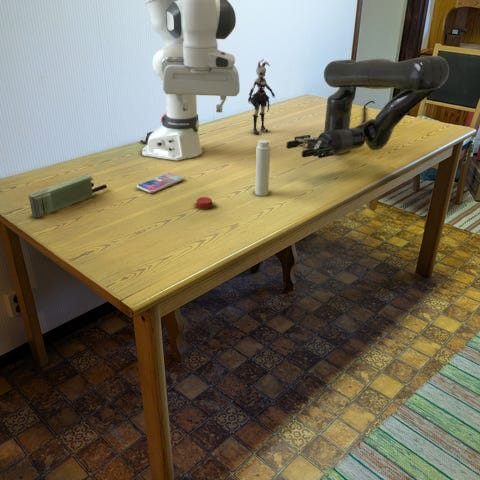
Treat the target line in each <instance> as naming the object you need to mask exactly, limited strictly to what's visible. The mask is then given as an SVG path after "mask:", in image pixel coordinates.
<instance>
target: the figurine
mask: <svg viewBox="0 0 480 480" xmlns="http://www.w3.org/2000/svg"><path fill="white" fill-rule="evenodd" d="M266 65H267V66H268V67H270V66H271V65H270V63H269V62H268V61H264V58H262V59H261V60H259V61H257V66H256V69H255V71H256V75H257V76H258V77H256V79H254V81H253V85H252V87H251V88H250V90H249V93H248V99H247V102H248V103H249V104H251V105H252V106H253V107H254V113H253V114H252V117H253V129H252V131H253V134H254V135H259V134H260V132H259V131H258V129H257V122H258V121H257V120H258V119H259V116H260V120H261V121H260V122H261V126H260V131H261V132H262V131H263V132H264V133H268V131H269V130H268V129H267V128H266V127H265V115H266V113H265V111H266V107H267V111H266V112H267V113H269V110H270V107H271V106H270V97H269V95H267V92H266V90H268V91H269V92H270V94H271V97H273V99H276V95H275V93H274V92H273V89H272V88H271V86H270V85H268V84H267V83H268V82H267V80H266V78H265V77H266V72H267V68H266ZM256 86H257V91H256V92H254V90H255V87H256ZM265 89H266V90H265ZM258 114H259V115H258Z"/></svg>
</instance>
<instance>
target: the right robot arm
mask: <svg viewBox="0 0 480 480" xmlns="http://www.w3.org/2000/svg"><path fill="white" fill-rule="evenodd" d="M449 73H450V67H449V64H448V62H447V59H445V58H444V57H442V56H439V55H430V56H423V57H421V56H420V57H415V58H411V59H407V60H402V61H393V60H391V59H389V58H370V59H363V60H359V61H356V60H354V59H340V60H339V59H337V60H333V61H330V62H329V63H327V64H326V66H325V67H324V70H323V79H324V81H325V83H326V84H327V86H329V87H330V88H334V89H336V88H338V89H337V91H335V92H333V93H332V94H331V95H329V96H328V97H327V99H326V108H325V109H326V110H325V119H324V130H323V132H321V133H320V134H319V136H318V137H311V134H305V135H304V134H303V135H298V136H294V140H289V141H286V146H285V147H286V148H287V149H288V150H289V149H296V148H302V150H301V157H302V158H308V157H309V158H310V157H314V158H316V157H317V159H323V158H327V157H333V156H334V155H342V154H345V153H347V152H348V151H353V150H358V149H361V148H362V147H363V146H364V145H365V144H366V146H367V147H368V149H369V150H371V151H380V150H382V149H383V148H384V147H385V146H386V145H387V144H388V143H389V141H390V140H391V136H392V134H393V132H394V130H395V128H396V127H397V125H398V124H400V122H401V121H402V120H403V119H404V118H405V117H406V116H407V115H408V114H409V113H410V112H411V111H412V110H413V109H414V108H415V107H417V106H418V105H419V104H420V103H421V102H423V101H424V100H425V99H427V98H428V97H429V96H431V95H432V94H433V93H435V92H436V91H437V90H439V88H441V87H442V86H443V85H444V84H445V83H446V81H447V80H448V77H449ZM357 88H360V89H370V90H386V89H387V90H388V89H400V90H403V91H401V92H400V93H398V94H397V95H396V96H394V97H392V98H391V99H389V100H388V102H387V103H385V104H384V106H383V107H382V108H381V110H380V111H379V112H378V113H377V114H376V116H375V118H370V119H368V120H366V106H368V105H369V104H371V103H373V104H375V101H374V100H370V101H368V102H367V103H365V104H364V106H363V119H362V121H361V123H360V124H358V125H357V126H354V127H351V126H350V125H351V117H352V110H353V103H354V101H355V98H356V92H357ZM365 120H366V121H365ZM350 127H351V128H350Z"/></svg>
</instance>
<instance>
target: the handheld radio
mask: <svg viewBox="0 0 480 480" xmlns="http://www.w3.org/2000/svg"><path fill="white" fill-rule="evenodd" d="M92 176H93V174H91V173H88V174H85V175H83V176H79V177H76V178H74V179H71V180H68V181H65V182H62V183H59V184H57V185H54V186H50V187H47V188H44V189H42V190H39V191H37V192H33V193H30V194H28V200H29V206H30V210H31V216H32V217H34V218H35V219H36V218H39V217H42V216H45V215H47V214H50V213H53V212H56V211H58V210H60V209H63V208H66V207H68V206H72V205H73V204H76V203H80V202H82V201H84V200H87V199H90V198H93V196H95V195H96V194H95V193H97V192H100V191H102V190H106V189H107V188H108V186H107V184H102V185H99V186H96V187H94V186H95V183H94V182H92V181H93V180H94V178H93V177H92ZM93 187H94V188H93Z"/></svg>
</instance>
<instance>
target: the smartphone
mask: <svg viewBox="0 0 480 480" xmlns="http://www.w3.org/2000/svg"><path fill="white" fill-rule="evenodd" d="M182 181H184V177H183V176H180V175H179V174H174V173H172V172H166V173H163V174H161V175H159V176H156V177H154V178H151V179H149V180H146V181H143V182H141V183H138V184H137V185H136V188H137V189H139V190H141V191H143V192H145V193H148V194H154V193H156V192H158V191H160V190H161V191H162V190H164V189H166V188H168V187H170V186H172V185H175V184H177V183H180V182H182Z"/></svg>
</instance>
